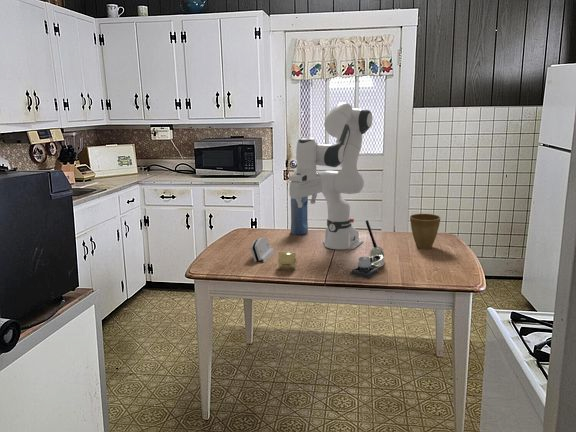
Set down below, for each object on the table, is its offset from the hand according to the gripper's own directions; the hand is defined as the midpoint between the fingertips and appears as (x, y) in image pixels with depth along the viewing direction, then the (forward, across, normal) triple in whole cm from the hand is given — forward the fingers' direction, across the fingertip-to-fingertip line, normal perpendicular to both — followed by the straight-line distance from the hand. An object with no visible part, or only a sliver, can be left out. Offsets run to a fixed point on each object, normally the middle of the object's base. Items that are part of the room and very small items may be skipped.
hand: (306, 205), depth 218 cm
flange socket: (+28, -5, +27) cm, 39 cm away
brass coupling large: (+28, +8, -5) cm, 30 cm away
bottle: (+29, -42, -36) cm, 62 cm away
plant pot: (+29, -57, +32) cm, 71 cm away
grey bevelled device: (+29, +3, -25) cm, 38 cm away
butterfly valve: (+29, -18, +26) cm, 42 cm away
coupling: (+27, -5, +27) cm, 39 cm away
